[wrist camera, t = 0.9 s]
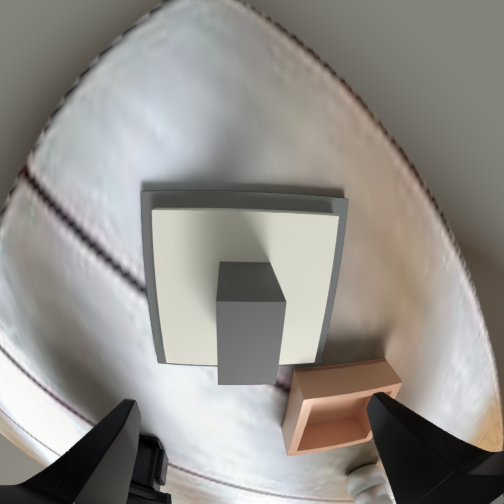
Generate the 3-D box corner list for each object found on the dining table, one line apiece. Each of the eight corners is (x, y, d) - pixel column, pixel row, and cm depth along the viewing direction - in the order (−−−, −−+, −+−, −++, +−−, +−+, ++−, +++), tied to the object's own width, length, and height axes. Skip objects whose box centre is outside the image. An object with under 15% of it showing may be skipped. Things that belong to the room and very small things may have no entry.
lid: (168, 354, 19) (153, 413, 13) (156, 207, 16) (119, 230, 10) (311, 354, 20) (333, 409, 14) (333, 213, 17) (380, 237, 11)
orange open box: (280, 426, 24) (287, 455, 20) (293, 366, 21) (303, 399, 18) (358, 415, 25) (370, 440, 21) (383, 356, 22) (402, 382, 18)
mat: (159, 358, 20) (158, 363, 19) (143, 190, 16) (140, 191, 15) (318, 358, 21) (320, 363, 20) (345, 197, 17) (348, 199, 17)
